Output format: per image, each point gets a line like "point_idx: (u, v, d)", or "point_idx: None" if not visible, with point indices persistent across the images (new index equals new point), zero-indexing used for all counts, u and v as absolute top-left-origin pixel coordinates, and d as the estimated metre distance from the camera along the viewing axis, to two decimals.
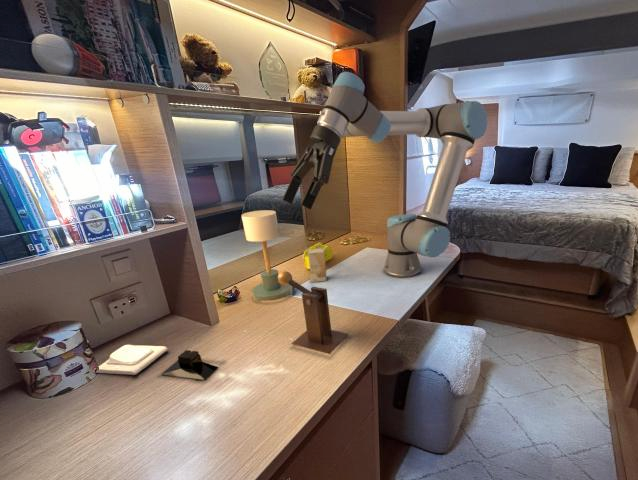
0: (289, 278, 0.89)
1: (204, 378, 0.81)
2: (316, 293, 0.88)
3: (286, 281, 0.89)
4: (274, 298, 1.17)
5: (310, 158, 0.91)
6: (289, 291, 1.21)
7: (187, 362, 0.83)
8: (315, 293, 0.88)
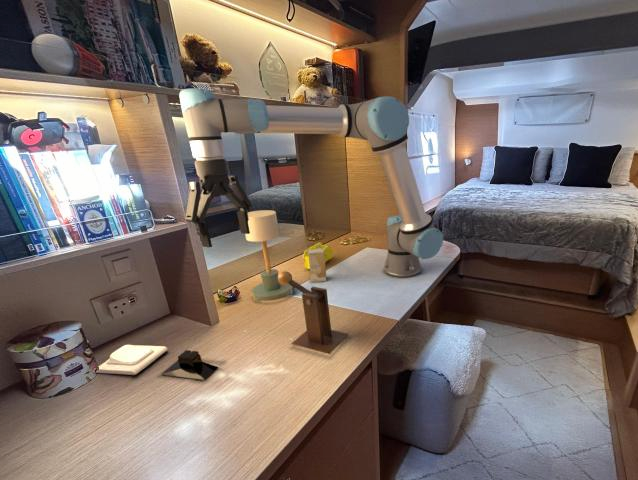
0: (289, 278, 0.89)
1: (204, 378, 0.81)
2: (316, 293, 0.88)
3: (286, 281, 0.89)
4: (274, 298, 1.17)
5: None
6: (289, 291, 1.21)
7: (187, 362, 0.83)
8: (315, 293, 0.88)
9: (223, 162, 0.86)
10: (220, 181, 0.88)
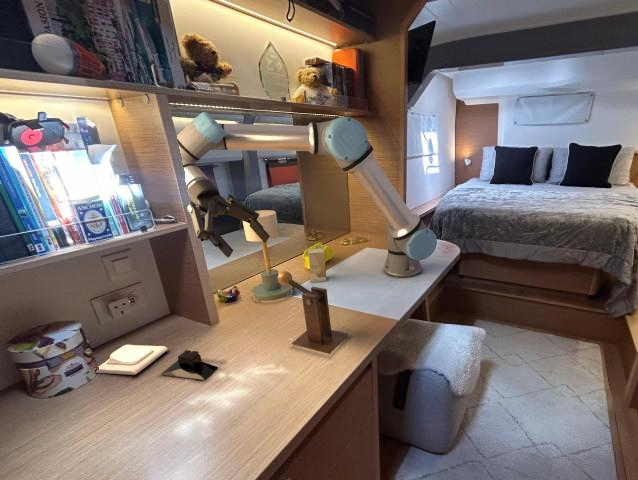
0: (289, 278, 0.89)
1: (204, 378, 0.81)
2: (316, 293, 0.88)
3: (286, 281, 0.89)
4: (274, 298, 1.17)
5: None
6: (289, 291, 1.21)
7: (187, 362, 0.83)
8: (315, 293, 0.88)
9: (206, 180, 0.90)
10: (215, 200, 0.91)
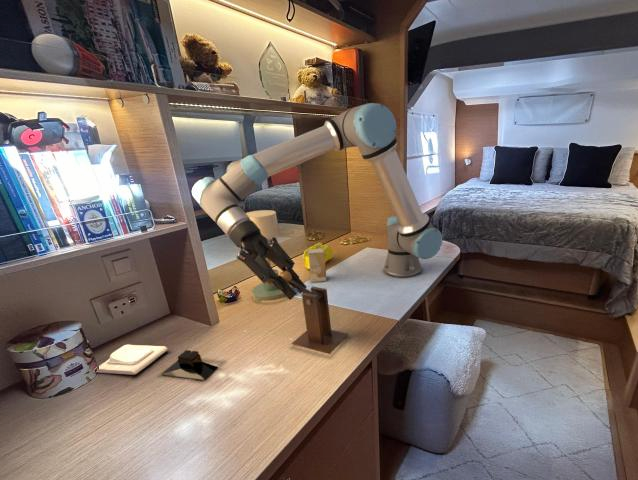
0: (289, 278, 0.89)
1: (204, 378, 0.81)
2: (316, 293, 0.88)
3: (286, 281, 0.89)
4: (274, 298, 1.17)
5: None
6: None
7: (187, 362, 0.83)
8: (315, 293, 0.88)
9: (249, 221, 0.89)
10: (256, 237, 0.91)
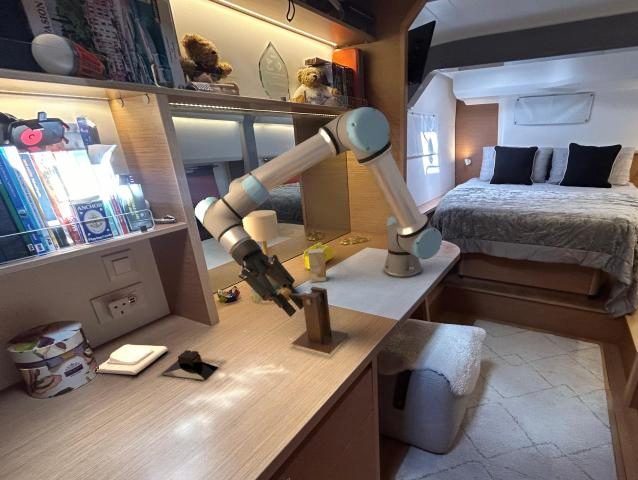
0: (287, 292, 0.91)
1: (204, 378, 0.81)
2: (314, 292, 0.88)
3: (285, 295, 0.91)
4: None
5: None
6: None
7: (187, 362, 0.83)
8: (313, 293, 0.88)
9: (251, 240, 0.91)
10: (257, 255, 0.93)
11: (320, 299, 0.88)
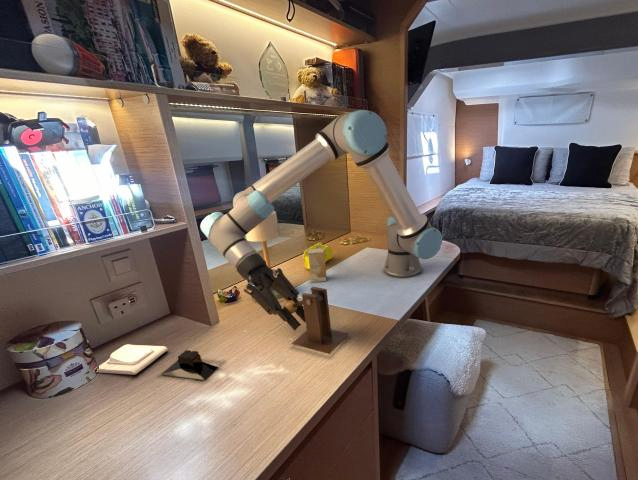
0: (290, 303, 0.92)
1: (204, 378, 0.81)
2: (313, 293, 0.88)
3: (289, 306, 0.92)
4: None
5: None
6: None
7: (187, 362, 0.83)
8: (312, 293, 0.88)
9: (256, 254, 0.93)
10: (262, 269, 0.94)
11: (320, 297, 0.88)
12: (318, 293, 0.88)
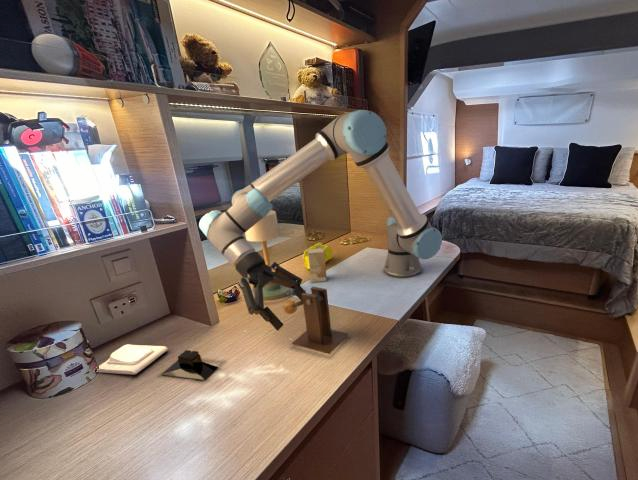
0: (290, 303, 0.92)
1: (204, 378, 0.81)
2: (313, 293, 0.88)
3: (289, 306, 0.92)
4: (274, 298, 1.17)
5: None
6: (289, 291, 1.21)
7: (187, 362, 0.83)
8: (312, 293, 0.88)
9: (255, 253, 0.93)
10: (262, 270, 0.94)
11: (320, 297, 0.88)
12: (318, 293, 0.88)
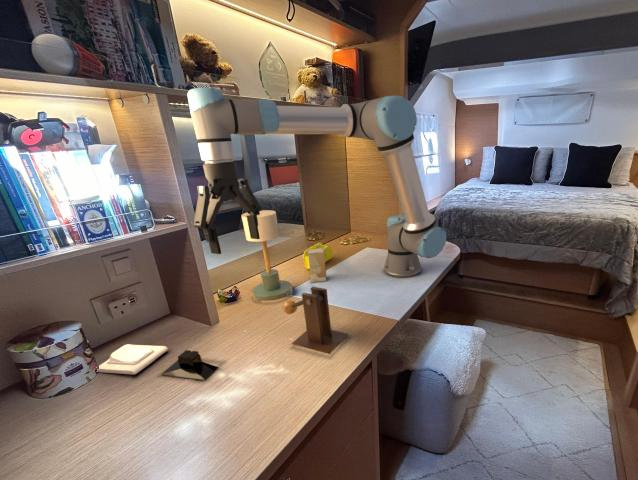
0: (290, 303, 0.92)
1: (204, 378, 0.81)
2: (313, 293, 0.88)
3: (289, 306, 0.92)
4: (274, 298, 1.17)
5: None
6: (289, 291, 1.21)
7: (187, 362, 0.83)
8: (312, 293, 0.88)
9: (233, 165, 0.82)
10: (229, 185, 0.85)
11: (320, 297, 0.88)
12: (318, 293, 0.88)
